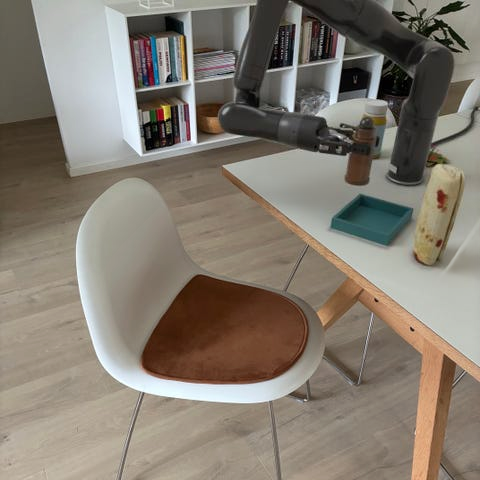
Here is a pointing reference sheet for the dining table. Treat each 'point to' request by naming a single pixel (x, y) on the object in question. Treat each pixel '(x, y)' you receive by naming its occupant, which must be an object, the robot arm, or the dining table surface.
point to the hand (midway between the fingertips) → (374, 146)
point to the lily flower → (435, 157)
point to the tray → (372, 219)
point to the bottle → (377, 119)
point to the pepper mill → (360, 163)
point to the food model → (438, 213)
